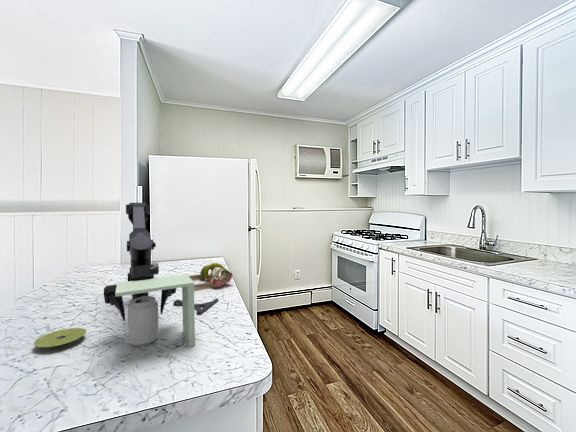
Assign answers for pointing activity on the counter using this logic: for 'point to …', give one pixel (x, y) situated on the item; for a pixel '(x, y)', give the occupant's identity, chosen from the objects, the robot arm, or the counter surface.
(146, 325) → the can
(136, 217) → the robot arm
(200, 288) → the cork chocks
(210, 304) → the bracket
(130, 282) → the shelf
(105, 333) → the counter surface
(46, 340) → the olive green disc
